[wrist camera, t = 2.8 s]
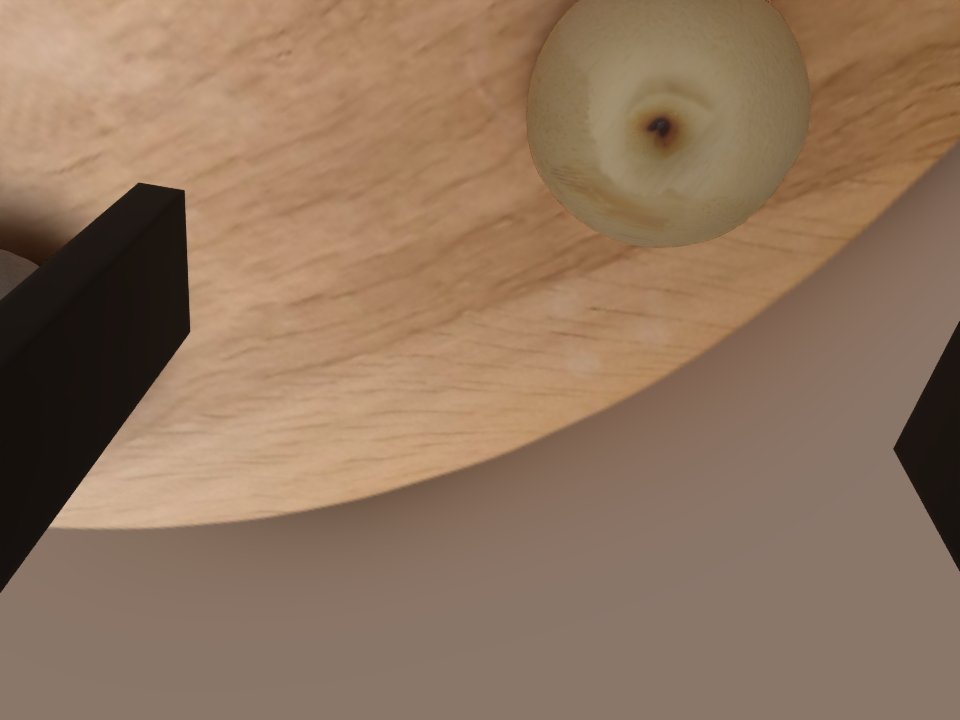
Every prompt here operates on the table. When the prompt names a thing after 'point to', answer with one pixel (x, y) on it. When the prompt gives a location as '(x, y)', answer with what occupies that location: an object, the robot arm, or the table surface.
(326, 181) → the table surface
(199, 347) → the table surface
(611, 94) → the apple
